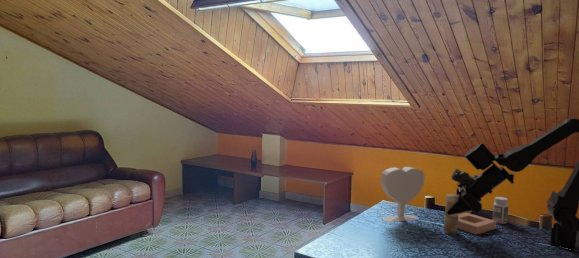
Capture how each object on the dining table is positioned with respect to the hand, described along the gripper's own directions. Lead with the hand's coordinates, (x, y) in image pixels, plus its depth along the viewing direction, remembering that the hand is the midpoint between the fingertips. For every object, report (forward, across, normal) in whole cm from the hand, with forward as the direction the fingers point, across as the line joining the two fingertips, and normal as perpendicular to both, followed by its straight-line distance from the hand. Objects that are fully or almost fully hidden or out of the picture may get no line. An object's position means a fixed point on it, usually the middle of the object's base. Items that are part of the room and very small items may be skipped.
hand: (447, 211), depth 134 cm
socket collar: (-1, -8, +10) cm, 14 cm away
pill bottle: (-8, -18, +18) cm, 27 cm away
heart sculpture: (+15, -9, -5) cm, 18 cm away
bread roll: (+1, -26, +9) cm, 28 cm away
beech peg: (+4, 0, +6) cm, 7 cm away
